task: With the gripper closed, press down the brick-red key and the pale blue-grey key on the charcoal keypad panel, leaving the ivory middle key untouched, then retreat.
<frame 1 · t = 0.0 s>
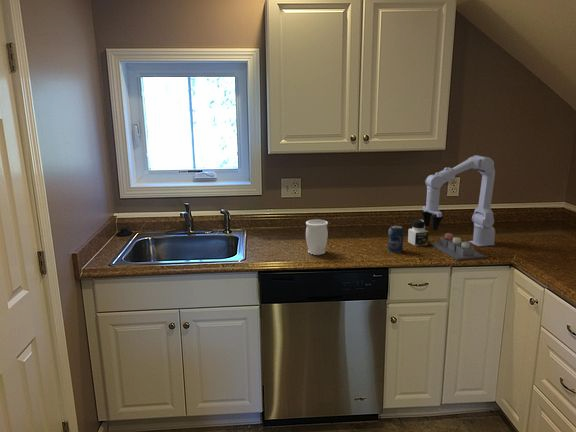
hand: (430, 228, 216), 10 cm above the counter, fingers open, 7 cm apart
keypad base: (455, 250, 214), on the counter
key ivory: (456, 241, 213), point 5 cm above the counter, slide at 0.0 cm
soda can: (395, 251, 215), on the counter
key red: (448, 237, 219), point 5 cm above the counter, slide at 0.0 cm
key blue: (465, 245, 206), point 5 cm above the counter, slide at 0.0 cm
jar: (316, 252, 214), on the counter
medicine bottle: (417, 243, 226), on the counter
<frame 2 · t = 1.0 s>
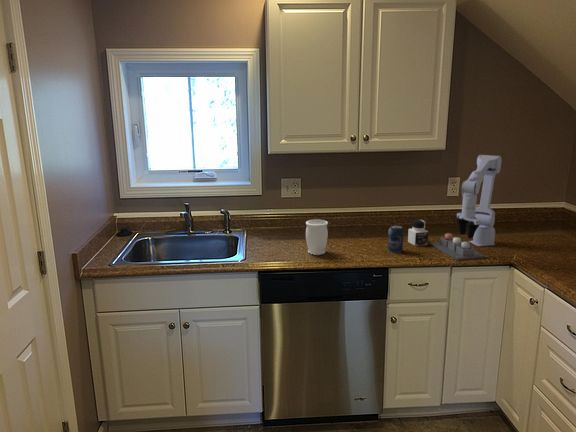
hand: (466, 236, 205), 9 cm above the counter, fingers open, 6 cm apart
nothing on the counter moved.
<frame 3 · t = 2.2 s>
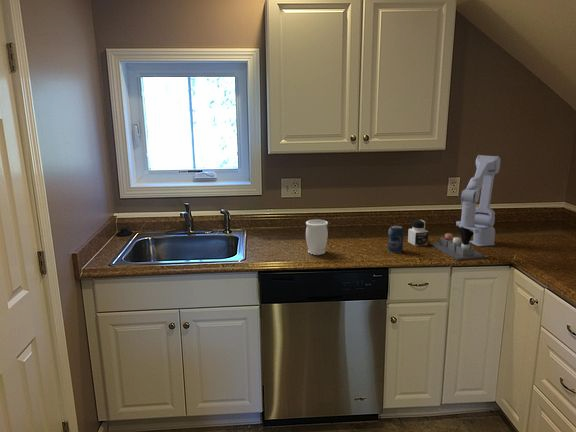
hand: (465, 244, 206), 5 cm above the counter, fingers closed, pressing on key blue
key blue: (465, 247, 206), point 4 cm above the counter, slide at 0.7 cm, touching gripper
everything else where it was.
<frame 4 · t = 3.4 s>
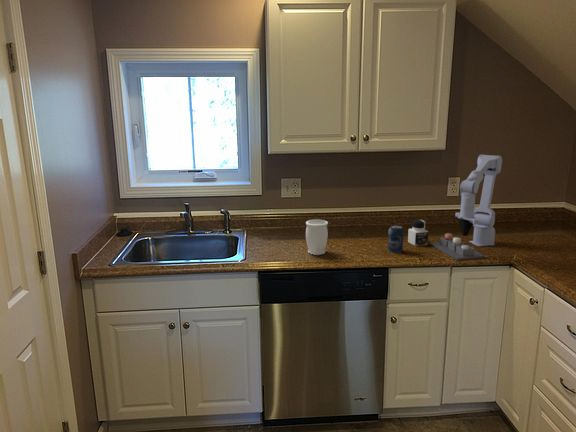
hand: (464, 235, 206), 9 cm above the counter, fingers closed
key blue: (465, 249, 206), point 3 cm above the counter, slide at 1.7 cm
everything else where it was.
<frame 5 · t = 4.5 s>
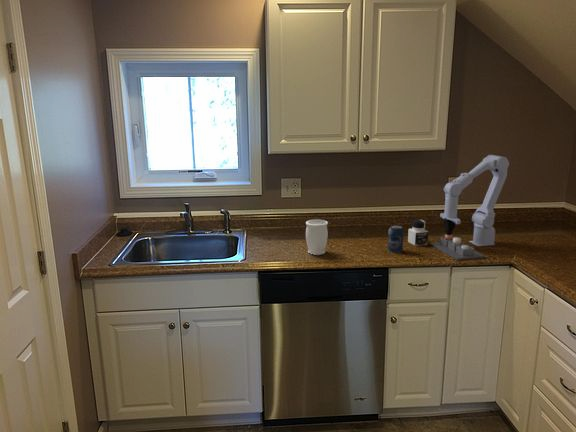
hand: (448, 234, 219), 6 cm above the counter, fingers closed, pressing on key red
key red: (448, 237, 219), point 5 cm above the counter, slide at 0.2 cm, touching gripper
everything else where it was.
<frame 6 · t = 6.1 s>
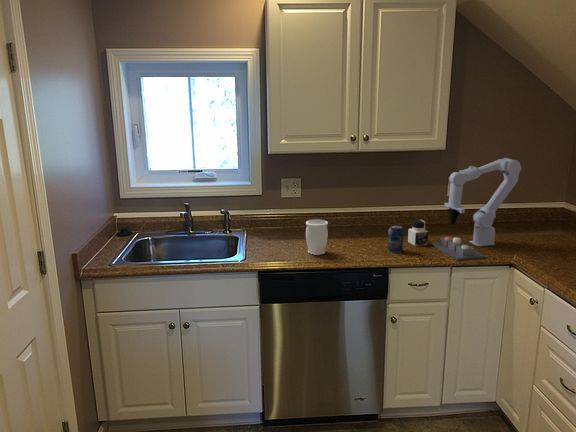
hand: (452, 224, 221), 10 cm above the counter, fingers closed
key red: (448, 240, 220), point 3 cm above the counter, slide at 1.7 cm
everything else where it was.
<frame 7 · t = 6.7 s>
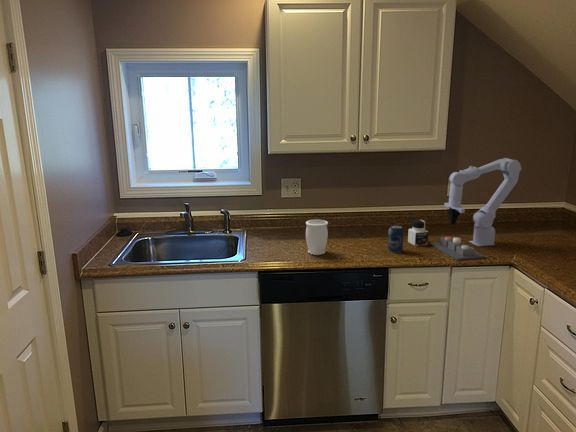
hand: (452, 224, 221), 10 cm above the counter, fingers closed
nothing on the counter moved.
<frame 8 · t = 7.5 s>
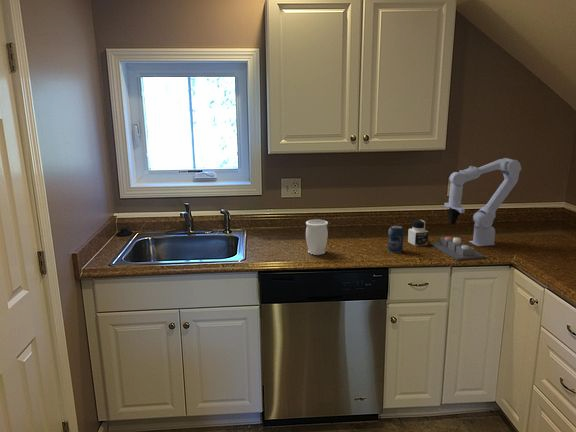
hand: (452, 224, 221), 10 cm above the counter, fingers closed
nothing on the counter moved.
at the end: key red slide at 1.7 cm; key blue slide at 1.7 cm; key ivory slide at 0.0 cm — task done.
